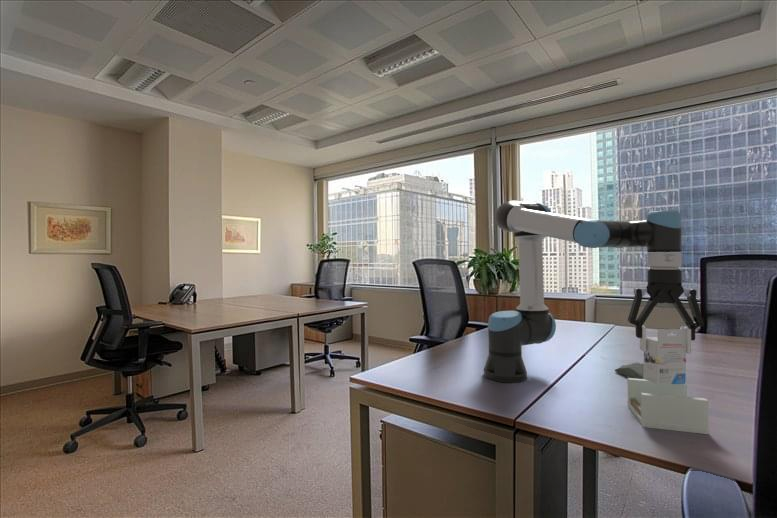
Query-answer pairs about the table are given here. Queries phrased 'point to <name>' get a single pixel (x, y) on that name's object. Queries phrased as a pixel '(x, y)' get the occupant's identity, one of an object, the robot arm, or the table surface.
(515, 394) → the table surface
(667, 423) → the rack
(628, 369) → the stone
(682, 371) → the ink box
